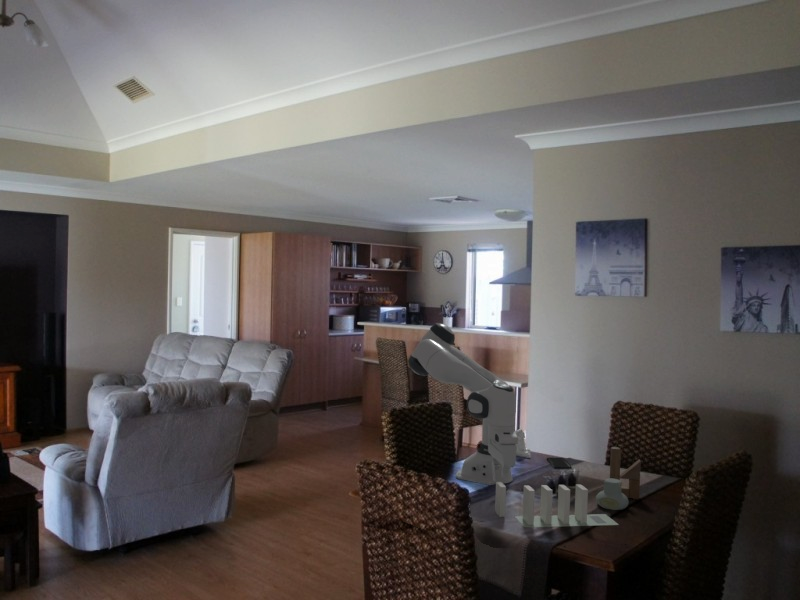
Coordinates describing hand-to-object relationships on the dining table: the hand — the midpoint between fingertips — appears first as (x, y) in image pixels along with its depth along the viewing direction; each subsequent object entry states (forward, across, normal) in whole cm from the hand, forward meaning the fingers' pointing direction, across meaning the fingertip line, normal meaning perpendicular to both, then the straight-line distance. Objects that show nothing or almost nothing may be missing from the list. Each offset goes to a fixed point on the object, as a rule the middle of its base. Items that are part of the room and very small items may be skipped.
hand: (500, 473), depth 228 cm
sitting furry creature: (+15, -78, +33) cm, 86 cm away
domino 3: (+14, +8, +14) cm, 21 cm away
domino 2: (+14, +8, +8) cm, 17 cm away
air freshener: (+15, -6, +43) cm, 46 cm away
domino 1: (+15, 0, 0) cm, 15 cm away
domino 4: (+14, +7, +20) cm, 25 cm away
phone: (+15, -63, +45) cm, 79 cm away
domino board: (+15, +7, +21) cm, 26 cm away
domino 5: (+14, +7, +26) cm, 30 cm away
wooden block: (+15, -18, +53) cm, 58 cm away
